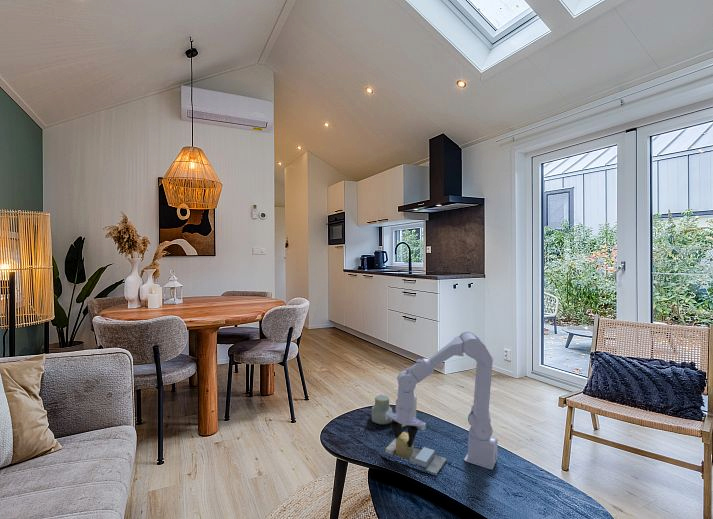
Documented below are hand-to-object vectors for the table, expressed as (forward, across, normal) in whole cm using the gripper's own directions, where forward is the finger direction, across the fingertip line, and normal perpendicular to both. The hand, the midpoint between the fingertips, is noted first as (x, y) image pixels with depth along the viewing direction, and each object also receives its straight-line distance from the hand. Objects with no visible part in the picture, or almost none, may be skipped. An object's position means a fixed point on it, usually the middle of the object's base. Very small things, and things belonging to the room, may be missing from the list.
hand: (404, 443), depth 138 cm
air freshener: (+5, +18, -18) cm, 26 cm away
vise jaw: (+3, -8, 0) cm, 8 cm away
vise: (+5, -4, 0) cm, 6 cm away
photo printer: (+5, +9, -22) cm, 24 cm away
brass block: (+3, 0, 0) cm, 3 cm away
